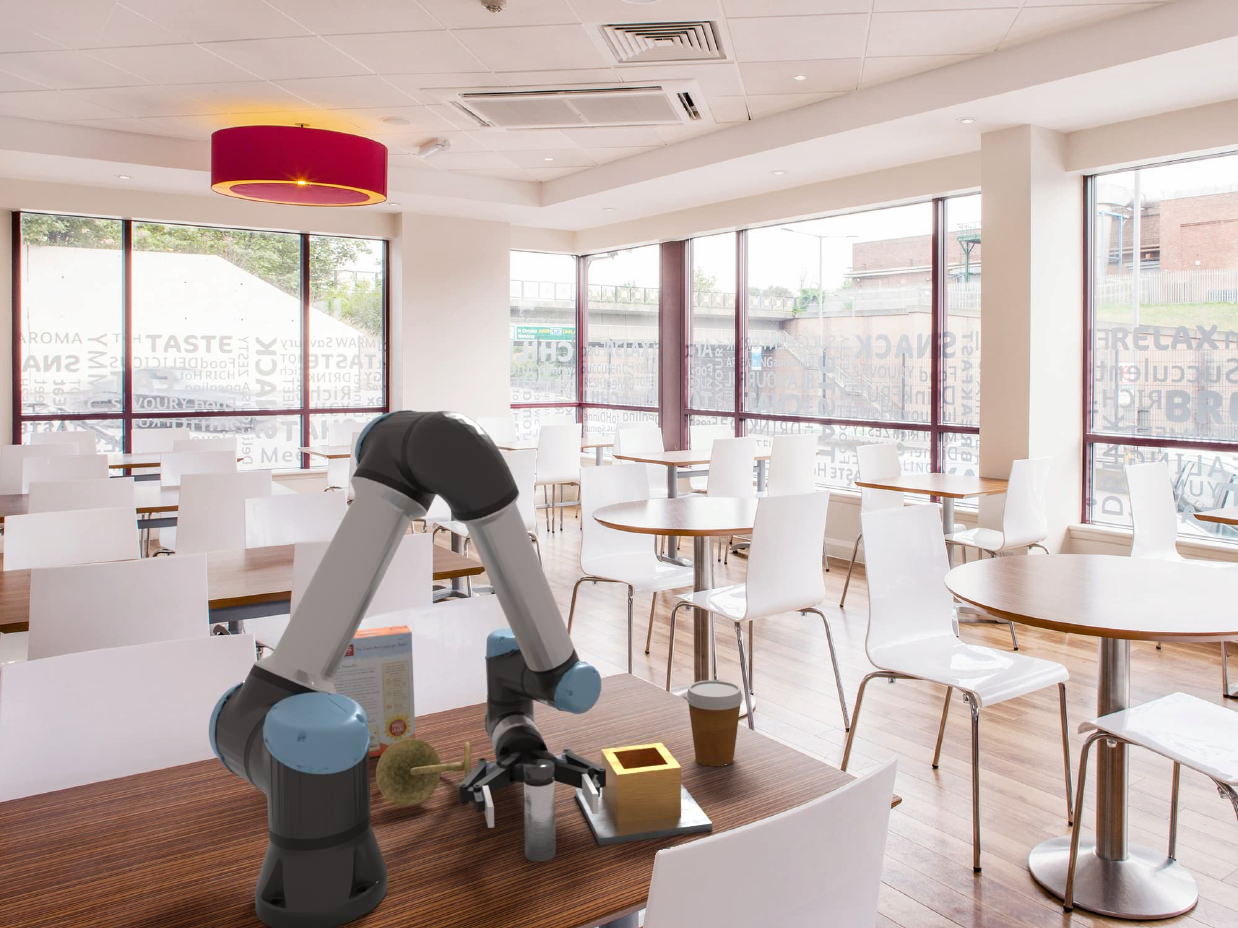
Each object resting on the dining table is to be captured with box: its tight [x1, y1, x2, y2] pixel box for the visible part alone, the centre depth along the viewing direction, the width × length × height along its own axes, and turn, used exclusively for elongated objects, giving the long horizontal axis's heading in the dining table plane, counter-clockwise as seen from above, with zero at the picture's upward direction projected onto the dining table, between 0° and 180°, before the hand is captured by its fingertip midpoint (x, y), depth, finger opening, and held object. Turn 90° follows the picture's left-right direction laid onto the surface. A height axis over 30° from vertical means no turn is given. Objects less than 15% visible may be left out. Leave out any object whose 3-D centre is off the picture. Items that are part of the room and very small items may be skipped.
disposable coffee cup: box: [685, 679, 744, 767], centre depth 147 cm, size 10×10×12 cm
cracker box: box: [333, 624, 417, 759], centre depth 152 cm, size 14×6×21 cm, turn 111°
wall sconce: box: [375, 738, 472, 807], centre depth 132 cm, size 14×10×25 cm
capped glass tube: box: [523, 759, 557, 863], centre depth 117 cm, size 4×4×12 cm
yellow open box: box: [574, 742, 713, 846], centre depth 129 cm, size 16×16×8 cm
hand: (544, 810), depth 115 cm, fingers open, 13 cm apart
